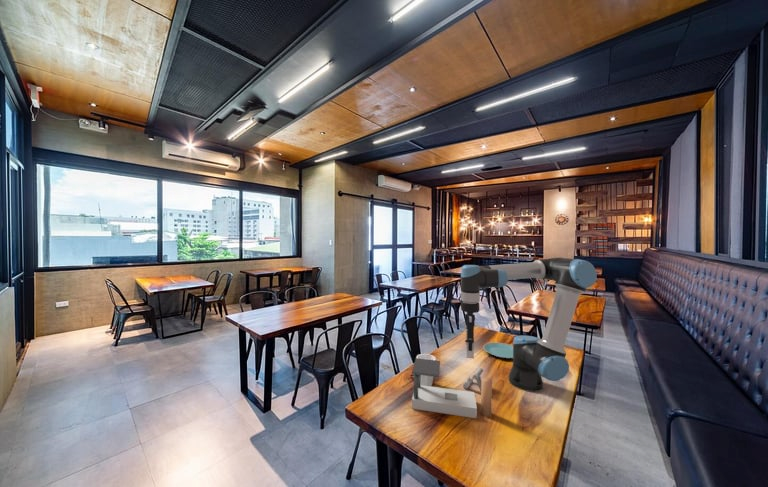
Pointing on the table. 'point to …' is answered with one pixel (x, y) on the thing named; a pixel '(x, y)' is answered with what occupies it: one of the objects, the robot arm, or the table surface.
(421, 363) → the dark grey l-shaped piece
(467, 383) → the portable electronic device stand
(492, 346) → the plate
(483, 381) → the peg
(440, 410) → the board
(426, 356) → the foam cup
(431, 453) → the table surface
